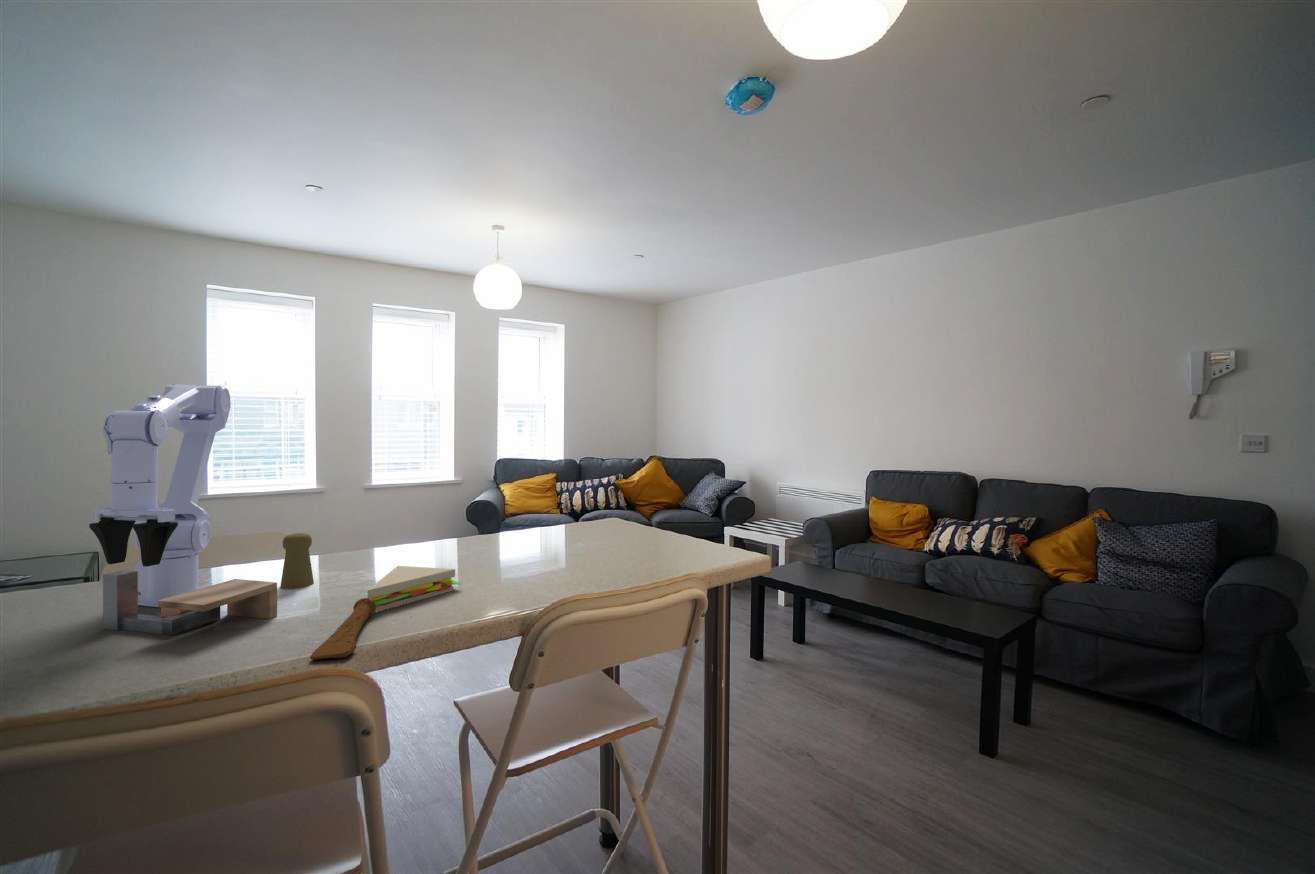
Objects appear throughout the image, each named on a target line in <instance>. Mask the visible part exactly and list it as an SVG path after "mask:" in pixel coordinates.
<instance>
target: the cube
mask: <svg viewBox="0 0 1315 874" xmlns="http://www.w3.org/2000/svg"><path fill="white" fill-rule="evenodd" d="M160 610H161V611H160V616H162V617H170V616H173V615H176V614H179V613H183V612H186V611H189V610H183V609H173V608H163V607H160Z"/></svg>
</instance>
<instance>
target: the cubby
mask: <svg viewBox="0 0 1315 874" xmlns="http://www.w3.org/2000/svg"><path fill="white" fill-rule="evenodd" d="M225 605H226V607H227V608H226V612H227V613H226V615H227V616H236V617H248V618H258V619H265V618H266V619H265V620H271V619H273V618H272V617H274V618H276V617H278V582H276V581H262V580H255V579H254V580H251V579H250V580H249V579H241V578H240V579H239V578H234V579H231V580H230V579H229V580H227V581H223V582H220V583H216V584H213V585H209V586H204V587H201V588H198V589H197V590H194V591H190V592H187V593H183V594H179V595H176V596H172V597H169V598H165V599H161V600H158V601H157V607H156V608H161V607H163V608H173V609H183V610H193V611H203V612H204V611H207V610H210V609H214V608H217V607H220V608H221V607H223V606H225ZM275 616H276V617H275ZM270 618H271V619H270Z"/></svg>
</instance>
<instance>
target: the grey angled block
mask: <svg viewBox="0 0 1315 874" xmlns="http://www.w3.org/2000/svg"><path fill="white" fill-rule="evenodd" d="M138 606H139V605H138V571H135V570H129V569H122V570H117V571H113V572H108V573H103V574H102V630H109V631H130V632H137V633H148V634H158V635H164V636H174V635H177V634H181V633H182V632H183V633H184V632H185V631H189V630H191V629H195V628H197V627H200V626H204V625H207V624H209V623H212V622H216V621H218V620H221V606H220V607H217V608H214V609H210V610H207V611H204V612H203V611H193V610H189V611H186V612H183V613H179V614H176V615H173V616H170V617H162V616H161V615H153V614H141V613H138V611H139V610H138V609H139V607H138Z"/></svg>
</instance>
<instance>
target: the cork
mask: <svg viewBox="0 0 1315 874" xmlns="http://www.w3.org/2000/svg"><path fill="white" fill-rule="evenodd" d="M312 543H313V539H312V536H311V534H309V533H307V532H305V533H304V532H296V533H290V534H286V536H284V537H283V539H282V548H283V550H285V555H284V559H283V560H284V561H283V566H282V573H281V578H280V579H281V581H280V589H283V590H296V589H303V588H307V587H310V586H312V585H315V581H314V576H313V569H312V568H313V567H312V562H311V555H310V547H311V546H312Z"/></svg>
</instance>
